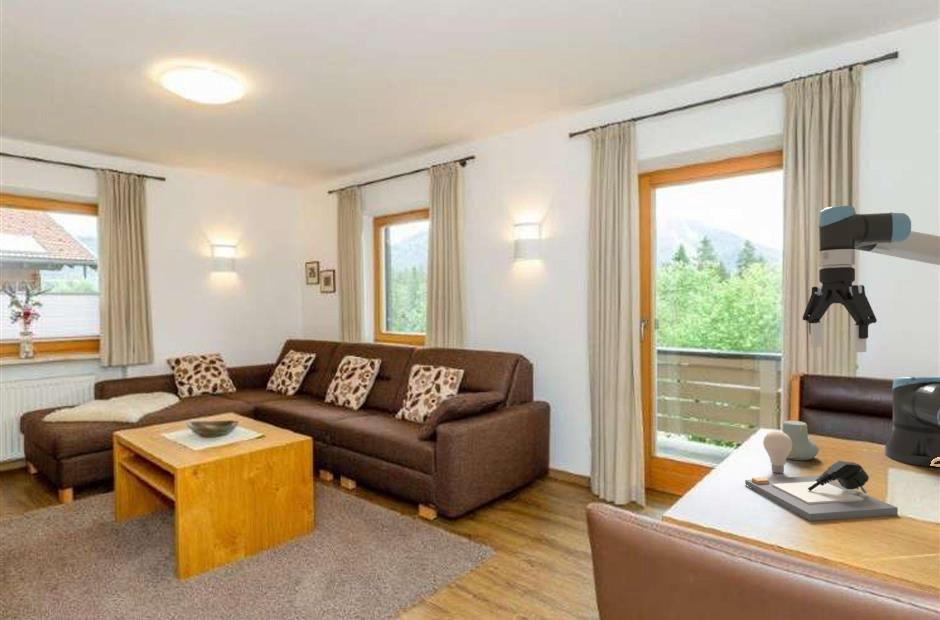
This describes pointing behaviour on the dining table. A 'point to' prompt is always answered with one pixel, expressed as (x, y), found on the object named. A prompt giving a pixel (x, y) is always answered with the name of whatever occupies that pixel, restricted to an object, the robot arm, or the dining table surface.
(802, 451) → the air freshener
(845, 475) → the power plug
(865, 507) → the socket board
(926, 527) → the dining table surface
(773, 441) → the light bulb
